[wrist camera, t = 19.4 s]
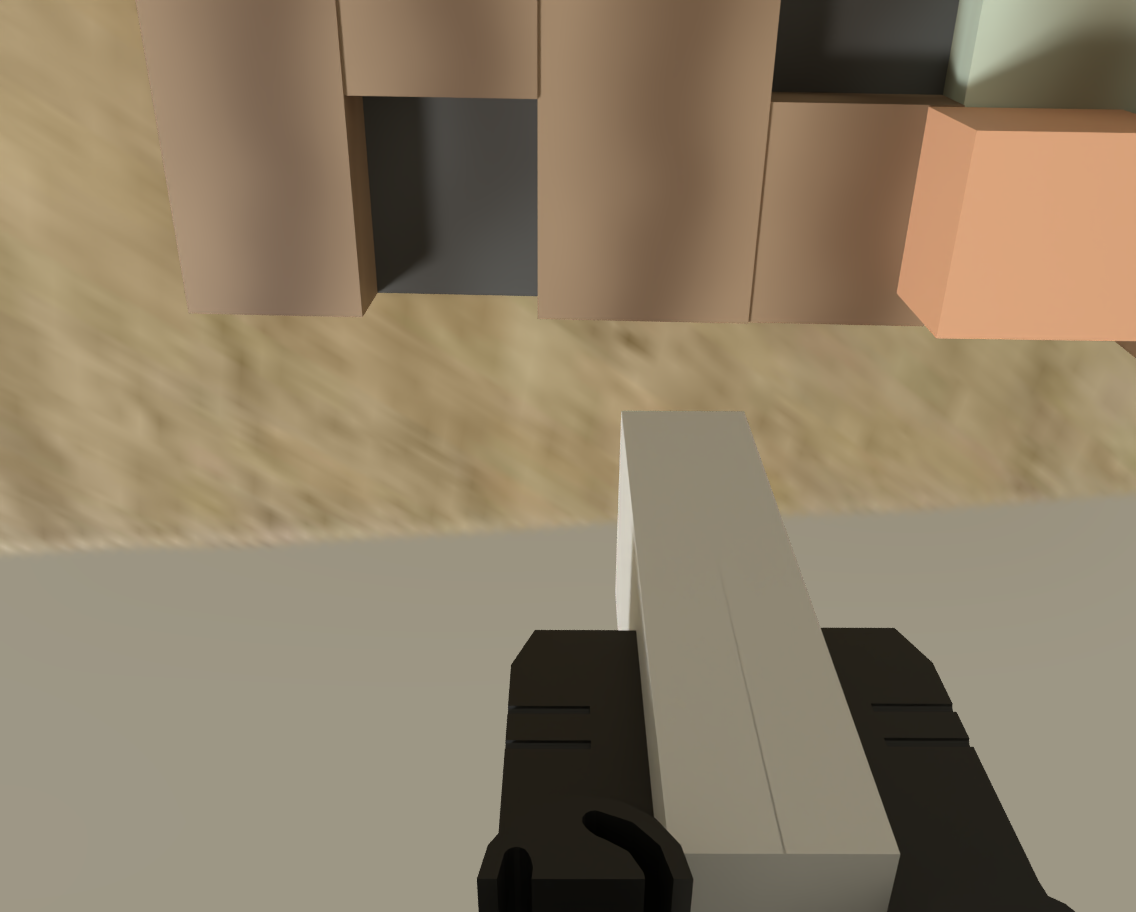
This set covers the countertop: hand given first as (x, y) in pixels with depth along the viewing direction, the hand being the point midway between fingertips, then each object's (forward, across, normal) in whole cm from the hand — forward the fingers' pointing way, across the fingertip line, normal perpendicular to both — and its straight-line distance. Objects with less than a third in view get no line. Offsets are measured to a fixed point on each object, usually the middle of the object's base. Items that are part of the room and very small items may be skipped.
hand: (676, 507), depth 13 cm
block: (+16, +10, 0) cm, 19 cm away
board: (+19, +1, +2) cm, 19 cm away
